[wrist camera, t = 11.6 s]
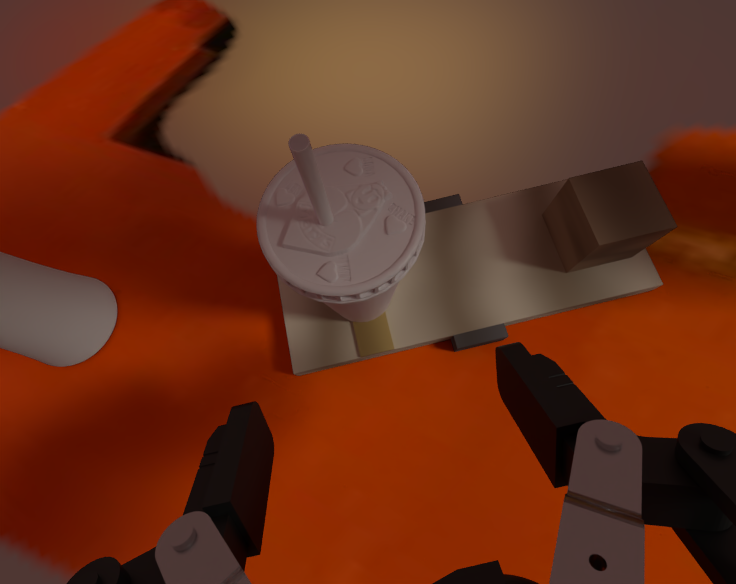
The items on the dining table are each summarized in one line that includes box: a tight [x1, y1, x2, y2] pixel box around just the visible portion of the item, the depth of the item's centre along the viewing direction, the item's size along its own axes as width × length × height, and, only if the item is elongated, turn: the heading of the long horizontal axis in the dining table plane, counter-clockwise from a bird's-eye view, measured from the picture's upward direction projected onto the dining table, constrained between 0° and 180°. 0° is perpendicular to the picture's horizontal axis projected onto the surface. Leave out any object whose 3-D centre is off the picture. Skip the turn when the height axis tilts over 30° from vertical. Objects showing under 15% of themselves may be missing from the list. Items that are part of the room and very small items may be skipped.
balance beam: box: [277, 161, 677, 376], centre depth 23 cm, size 22×10×5 cm, turn 103°
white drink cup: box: [257, 134, 426, 322], centre depth 17 cm, size 6×6×14 cm
